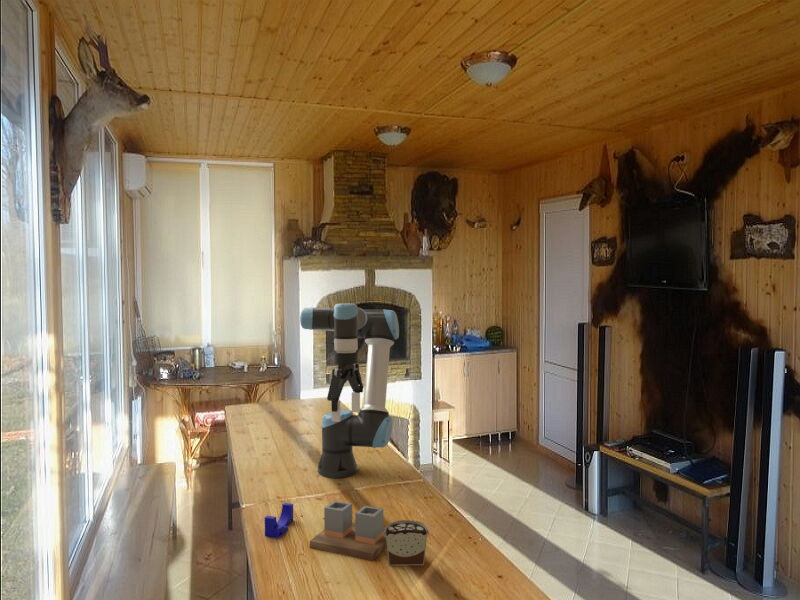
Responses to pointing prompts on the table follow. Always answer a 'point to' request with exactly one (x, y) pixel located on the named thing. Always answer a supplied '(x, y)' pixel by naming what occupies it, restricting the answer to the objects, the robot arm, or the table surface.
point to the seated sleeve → (369, 525)
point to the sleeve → (338, 519)
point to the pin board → (349, 545)
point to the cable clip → (279, 522)
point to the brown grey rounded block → (406, 542)
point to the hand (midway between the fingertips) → (346, 416)
